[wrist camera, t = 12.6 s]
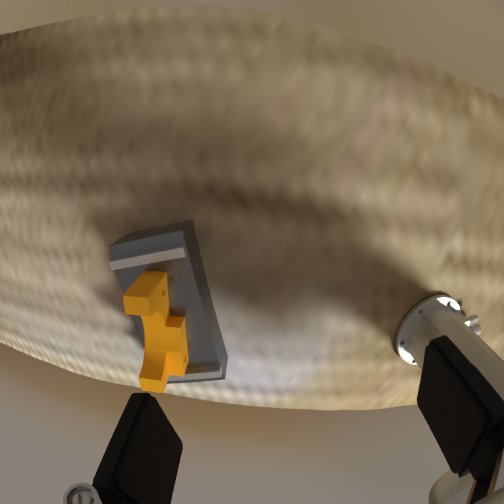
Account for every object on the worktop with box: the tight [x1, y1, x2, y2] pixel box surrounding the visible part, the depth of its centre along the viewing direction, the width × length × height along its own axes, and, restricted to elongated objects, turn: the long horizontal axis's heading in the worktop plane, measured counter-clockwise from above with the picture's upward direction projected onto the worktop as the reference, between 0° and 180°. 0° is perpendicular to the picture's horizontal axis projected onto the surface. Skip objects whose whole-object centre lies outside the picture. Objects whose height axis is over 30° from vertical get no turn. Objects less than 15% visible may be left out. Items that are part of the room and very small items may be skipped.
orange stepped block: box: [123, 271, 188, 393], centre depth 30 cm, size 12×4×6 cm, turn 178°
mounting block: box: [109, 220, 228, 384], centre depth 35 cm, size 9×20×6 cm, turn 11°
